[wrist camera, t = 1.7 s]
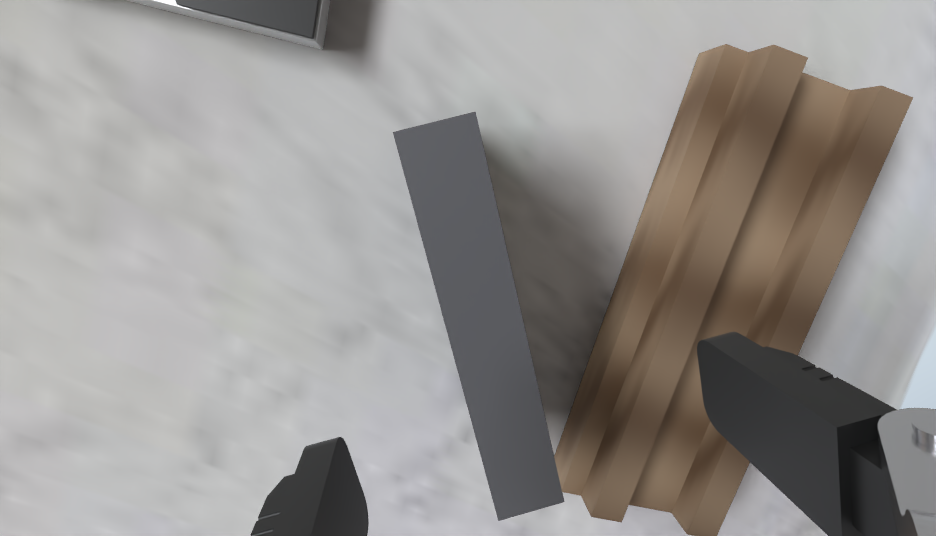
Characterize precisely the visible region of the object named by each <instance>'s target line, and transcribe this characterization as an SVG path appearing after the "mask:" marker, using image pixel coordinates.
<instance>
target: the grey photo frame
mask: <svg viewBox="0 0 936 536" xmlns="http://www.w3.org/2000/svg"><path fill="white" fill-rule="evenodd" d="M393 134H394V138H395V142H396V145H397V149H398V153H399V156H400V160H401V164H402V167H403V171H404V175H405V178H406V182H407V186H408V189H409V193H410V197H411V200H412V204H413V208H414V211H415V215H416V219H417V223H418V226H419V230H420V234H421V237H422V241H423V245H424V248H425V252H426V256H427V259H428V263H429V267H430V270H431V274H432V278H433V281H434V285H435V289H436V292H437V296H438V300H439V303H440V307H441V311H442V315H443V318H444V322H445V326H446V329H447V333H448V337H449V340H450V344H451V348H452V351H453V355H454V359H455V362H456V366H457V370H458V373H459V377H460V381H461V384H462V388H463V392H464V396H465V399H466V403H467V407H468V410H469V414H470V418H471V421H472V425H473V429H474V432H475V436H476V440H477V443H478V447H479V451H480V454H481V458H482V462H483V465H484V469H485V473H486V476H487V480H488V484H489V488H490V491H491V495H492V499H493V502H494V506H495V510H496V513H497V517H498V521H500V520H503V519H507V518H510V517H514V516H517V515H521V514H524V513H528V512H531V511H534V510H538V509H541V508H545V507H548V506H552V505H555V504H559V503H562V502H564V498H563V493H562V489H561V485H560V480H559V476H558V472H557V467H556V463H555V458H554V454H553V450H552V445H551V441H550V437H549V432H548V428H547V423H546V419H545V415H544V410H543V406H542V401H541V397H540V393H539V388H538V384H537V380H536V375H535V371H534V366H533V362H532V358H531V353H530V349H529V344H528V340H527V336H526V331H525V327H524V323H523V318H522V314H521V309H520V305H519V301H518V296H517V292H516V288H515V283H514V279H513V274H512V270H511V266H510V261H509V257H508V252H507V248H506V244H505V239H504V235H503V231H502V226H501V222H500V217H499V213H498V209H497V204H496V200H495V195H494V191H493V187H492V182H491V178H490V174H489V169H488V165H487V160H486V156H485V152H484V147H483V143H482V139H481V134H480V130H479V125H478V121H477V117H476V112H472V113H468V114H464V115H460V116H456V117H452V118H448V119H444V120H440V121H436V122H432V123H428V124H424V125H420V126H416V127H412V128H408V129H404V130H400V131H396V132H393Z"/></svg>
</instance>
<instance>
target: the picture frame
mask: <svg viewBox="0 0 936 536" xmlns="http://www.w3.org/2000/svg"><path fill="white" fill-rule="evenodd" d="M126 1H130V2H134V3H138V4H142V5H146V6H150V7H154V8H158V9H162V10H166V11H170V12H174V13H178V14H182V15H186V16H190V17H194V18H198V19H202V20H206V21H210V22H214V23H218V24H222V25H226V26H230V27H234V28H238V29H242V30H246V31H250V32H254V33H258V34H262V35H266V36H269V37H273V38H277V39H281V40H285V41H289V42H293V43H297V44H301V45H305V46H309V47H313V48H317V49H321V50H323V47H324V40H325V33H326V27H327V20H328V13H329V7H330V0H126Z"/></svg>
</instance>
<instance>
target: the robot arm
mask: <svg viewBox="0 0 936 536" xmlns="http://www.w3.org/2000/svg"><path fill="white" fill-rule="evenodd" d="M697 356H698V364H699V372H700V380H701V387H702V395H703V403H704V407H705V410H706V413H707V415H708V418H709V420H710V421H711V423H712V425H713V426H714V428H715V429H716V430H717V431H718V432H719V433H720V434H721V435H722V436H723V437H724V438H725V439H726V440H727V441H728V442H729V443H730V444H732V445H733V446H734V447H735V448H736V449H737V450H738V451H739V452H740V453H741V454H742V455H743V456H744V457H745V458H746V459H747V460H749V461H750V462H751V463H752V464H753V465H754V466H755V467H756V468H757V469H758V470H759V471H760V472H761V473H762V474H763V475H764V476H766V477H767V478H768V479H769V480H770V481H771V482H772V483H773V484H774V485H775V486H776V487H777V488H778V489H779V490H780V491H781V492H782V493H784V494H785V495H786V496H787V497H788V498H789V499H790V500H791V501H792V502H793V503H794V504H795V505H796V506H797V507H798V508H799V509H801V510H802V511H803V512H804V513H805V514H806V515H807V516H808V517H809V518H810V519H811V520H812V521H813V522H814V523H815V524H816V525H818V526H819V527H820V528H821V529H822V530H823V531H824V532H825V533H826V534H827V535H828V536H936V409H928V408H907V409H899V410H896V409H895V408H893V407H891V406H889V405H887V404H885V403H884V402H882V401H880V400H878V399H876V398H874V397H872V396H871V395H869V394H867V393H865V392H863V391H861V390H860V389H858V388H856V387H854V386H852V385H850V384H849V383H847V382H845V381H843V380H841V379H839V378H838V377H837V378H834V377H833V375H832V374H830V373H828V372H827V371H825V370H823V369H821V368H816V367H815V365H814V364H812V363H810V362H808V361H806V360H805V359H803V358H801V357H799V356H797V355H795V354H793V353H790V352H786V351H782V350H779V349H775V348H771V347H767V346H766V347H762V346H760V345H759V344H757V343H755V342H753V341H752V340H750V339H748V338H746V337H745V336H743V335H741V334H739V333H737V332H729V333H726V334H722V335H718V336H714V337H711V338H707V339H703V340H701V341H699V342H698V345H697ZM258 518H259V521H256V524H255V526H254V528H253V530H252V533H251V536H367V533H368V510H367V504H366V500H365V496H364V493H363V490H362V487H361V485H360V482H359V479H358V476H357V473H356V470H355V467H354V465H353V462H352V459H351V456H350V453H349V450H348V447H347V445H346V443H345V441H344V439H343V438H341V437H338V438H334V439H331V440H327V441H323V442H320V443H316V444H312V445H309V446H306V447H305V448H304V451H303V453H302V456H301V458H300V461H299V464H298V466H297V469H296V472H295V474H293V475H289V476H286V477H284V478H283V479H282V480H281V481H280V482H279V484H278V485H277V486H276V487H275V488H274V489H273V491H272V492H271V493H270V494H269V495H268V496H267V498H266V500H265V503H264V505H263V507H262V510H261V512H260V514H259V517H258Z"/></svg>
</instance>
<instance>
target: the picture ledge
mask: <svg viewBox="0 0 936 536" xmlns="http://www.w3.org/2000/svg"><path fill="white" fill-rule="evenodd" d="M807 59H808V58H807V57H805V56H802V55H800V54H797V53H794V52H792V51H789V50H786V49H784V48H781V47H778V46H776V45H771V46H768V47H765V48H761V49H758V50H755V51H752V52H746V51H743V50H741V49H738V48H735V47H733V46H730V45H727V44H725V45H722V46H719V47H716V48H713V49H711V50H708V51H705V52H702V53H699V55H698V58H697V61H696V64H695V66H694V69H693V72H692V75H691V77H690V80H689V83H688V86H687V89H686V91H685V94H684V97H683V100H682V102H681V105H680V108H679V111H678V114H677V116H676V119H675V122H674V125H673V127H672V130H671V133H670V136H669V139H668V141H667V144H666V147H665V150H664V153H663V155H662V158H661V161H660V164H659V166H658V169H657V172H656V175H655V178H654V180H653V183H652V186H651V189H650V191H649V194H648V197H647V200H646V203H645V205H644V208H643V211H642V214H641V217H640V219H639V222H638V225H637V228H636V230H635V233H634V236H633V239H632V242H631V244H630V247H629V250H628V253H627V255H626V258H625V261H624V264H623V267H622V269H621V272H620V275H619V278H618V281H617V283H616V286H615V289H614V292H613V294H612V297H611V300H610V303H609V306H608V308H607V311H606V314H605V317H604V319H603V322H602V325H601V328H600V331H599V333H598V336H597V339H596V342H595V344H594V347H593V350H592V353H591V356H590V358H589V361H588V364H587V367H586V370H585V372H584V375H583V378H582V381H581V383H580V386H579V389H578V392H577V395H576V397H575V400H574V403H573V406H572V408H571V411H570V414H569V417H568V420H567V422H566V425H565V428H564V431H563V434H562V436H561V439H560V442H559V445H558V447H557V450H556V453H555V456H554V458H555V463H556V467H557V472H558V476H559V480H560V485H561V489H562V492H565V493H570V494H576V495H581V497H582V499H583V501H584V503H585V505H586V507H587V509H588V511H589V513H590V515H591V517H595V518H601V519H606V520H612V521H617V522H622V520H623V517H624V515H625V512H626V510H627V507H628V505H634V506H639V507H644V508H649V509H655V510H660V511H665V512H670V513H672V514H673V515H674V517H675V518H676V520H677V521H678V522H679V524H680V525H681V527H682V528H683V529H684V531H685V532H686V534H688V535H694V536H717V534H718V532H719V530H720V527H721V525H722V523H723V521H724V518H725V516H726V514H727V512H728V510H729V507H730V505H731V503H732V501H733V498H734V496H735V494H736V492H737V489H738V487H739V485H740V483H741V481H742V478H743V476H744V474H745V472H746V469H747V467H748V465H749V463H750V461H749V460H747V459H746V458H745V457H744V456H743V455H742V454H741V453H740V452H739V451H738V450H737V449H736V448H735V447H734V446H733V445H732V444H730V443H729V442H728V441H727V440H726V439H725V438H724V437H723V436H722V435H721V434H720V433H719V432H718V431H717V430H716V429H715V428H714V426H713V425H712V423H711V421H710V420H709V418H708V415H707V413H706V410H705V407H704V403H703V395H702V387H701V380H700V372H699V364H698V356H697V345H698V342H699V341H701V340H703V339H707V338H711V337H714V336H718V335H722V334H726V333H729V332H737V333H739V334H741V335H743V336H745V337H746V338H748V339H750V340H752V341H753V342H755V343H757V344H759V345H760V346H762V347H766V346H767V347H771V348H775V349H779V350H782V351H786V352H790V353H793V354H795V355H797V356H798V353H799V351H800V349H801V347H802V345H803V342H804V340H805V338H806V336H807V333H808V331H809V329H810V327H811V324H812V322H813V320H814V318H815V316H816V313H817V311H818V309H819V307H820V304H821V302H822V300H823V298H824V295H825V293H826V291H827V289H828V287H829V284H830V282H831V280H832V278H833V275H834V273H835V271H836V269H837V266H838V264H839V262H840V260H841V258H842V255H843V253H844V251H845V249H846V246H847V244H848V242H849V240H850V237H851V235H852V233H853V231H854V229H855V226H856V224H857V222H858V220H859V217H860V215H861V213H862V211H863V208H864V206H865V204H866V202H867V200H868V197H869V195H870V193H871V191H872V188H873V186H874V184H875V182H876V179H877V177H878V175H879V173H880V171H881V168H882V166H883V164H884V162H885V159H886V157H887V155H888V153H889V150H890V148H891V146H892V144H893V142H894V139H895V137H896V135H897V133H898V130H899V128H900V126H901V124H902V121H903V119H904V117H905V115H906V113H907V110H908V108H909V106H910V104H911V101H912V99H913V97H910V96H908V95H905V94H902V93H900V92H897V91H894V90H892V89H889V88H886V87H884V86H876V87H870V88H863V89H856V90H848V89H845V88H842V87H840V86H837V85H834V84H832V83H829V82H826V81H824V80H821V79H818V78H816V77H813V76H810V75H808V74H805V73H802V71H803V69H804V66H805V64H806V61H807Z"/></svg>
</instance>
